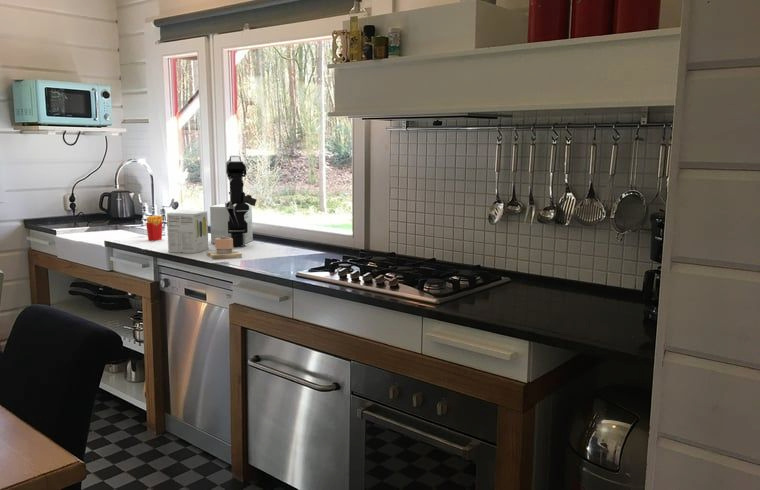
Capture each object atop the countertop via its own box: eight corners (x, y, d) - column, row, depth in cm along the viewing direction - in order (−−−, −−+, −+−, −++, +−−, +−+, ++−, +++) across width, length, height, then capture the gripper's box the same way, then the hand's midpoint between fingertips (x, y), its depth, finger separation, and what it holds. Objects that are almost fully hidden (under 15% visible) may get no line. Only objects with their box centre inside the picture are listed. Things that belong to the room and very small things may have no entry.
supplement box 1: (195, 253, 279) (193, 213, 276) (167, 252, 281) (166, 212, 279) (209, 248, 292) (208, 210, 289) (182, 247, 294) (181, 209, 292)
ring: (214, 247, 274) (213, 238, 273) (230, 246, 277) (230, 237, 276) (217, 249, 268) (217, 240, 267) (234, 248, 271) (234, 239, 270)
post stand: (207, 254, 276) (206, 235, 274) (234, 252, 281) (234, 233, 280) (213, 259, 265) (212, 239, 264) (241, 257, 270) (241, 237, 269)
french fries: (150, 241, 313) (149, 216, 312) (145, 240, 316) (144, 216, 314) (165, 239, 320) (164, 215, 318) (160, 238, 322) (159, 214, 321)
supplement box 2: (253, 240, 319) (252, 204, 316) (245, 244, 306) (244, 206, 303) (219, 239, 321) (218, 203, 318) (210, 243, 307) (209, 206, 305)
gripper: (260, 190, 275) (261, 226, 277) (248, 188, 291) (249, 222, 294) (234, 191, 270) (235, 227, 272) (224, 188, 286) (225, 223, 289)
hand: (237, 225), depth 282 cm, fingers open, 9 cm apart
